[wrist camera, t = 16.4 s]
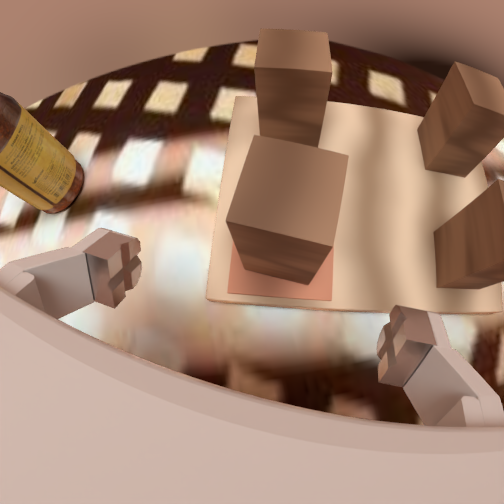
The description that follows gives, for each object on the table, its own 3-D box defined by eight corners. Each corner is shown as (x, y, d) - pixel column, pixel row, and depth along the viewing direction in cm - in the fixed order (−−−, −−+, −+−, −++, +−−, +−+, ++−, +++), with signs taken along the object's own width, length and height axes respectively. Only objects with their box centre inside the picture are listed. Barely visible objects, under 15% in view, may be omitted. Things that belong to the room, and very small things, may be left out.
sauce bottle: (83, 151, 28) (-28, 15, 8) (90, 199, 26) (-57, 56, 7) (36, 180, 27) (-83, 73, 8) (39, 228, 25) (-111, 126, 6)
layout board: (466, 137, 25) (513, 74, 15) (492, 313, 21) (578, 292, 10) (237, 106, 27) (222, 17, 17) (209, 300, 23) (160, 269, 13)
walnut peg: (321, 225, 22) (348, 155, 13) (308, 285, 21) (332, 246, 12) (261, 210, 22) (253, 134, 14) (244, 269, 21) (225, 220, 13)
